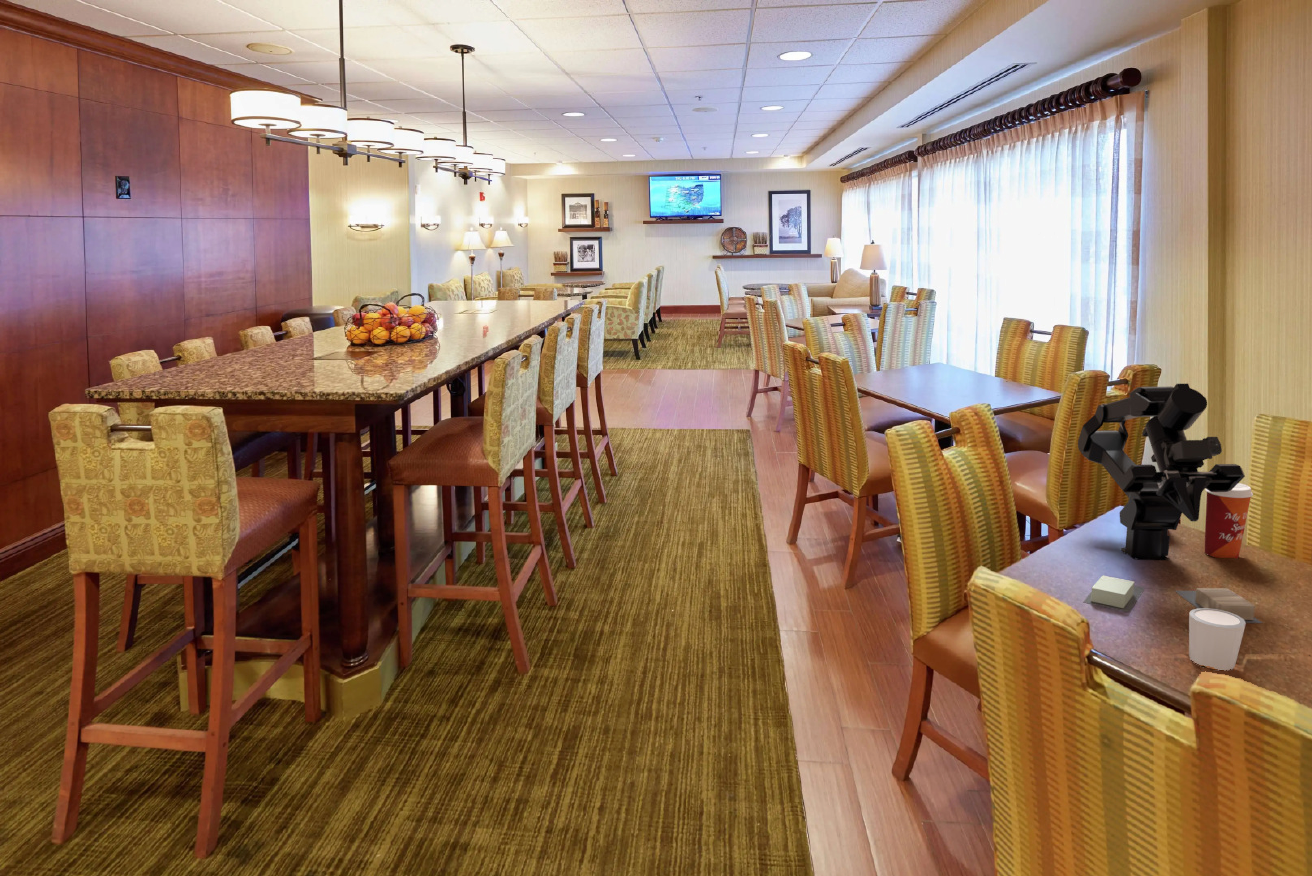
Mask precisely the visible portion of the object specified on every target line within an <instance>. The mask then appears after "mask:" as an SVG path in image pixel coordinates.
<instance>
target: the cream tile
mask: <svg viewBox="0 0 1312 876" xmlns="http://www.w3.org/2000/svg"><path fill="white" fill-rule="evenodd" d="M1195 591H1196V598H1195V602H1196V603H1198V604H1199V605H1201V606H1202V607H1203V608H1210V609H1218V610H1222V611H1227V612H1230V613H1233V614H1235V615H1238V616H1239V617H1241V618H1242V619H1244V620H1253V619H1254V617H1255V609H1256V608H1255V607H1256V605H1255V604H1253V603H1252V602H1250V601H1248V600H1246V598H1243V597H1242V596H1241V595H1240V594H1238V593H1236V592H1234V591H1233V590H1232V589H1229V588H1225V587H1223V588H1222V587H1221V588H1220V587H1219V588H1218V587H1217V588H1215V587H1214V588H1211V587H1205V588H1204V587H1203V588H1201V587H1200V588H1199V587H1197V588H1196V589H1195Z"/></svg>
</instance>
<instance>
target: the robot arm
mask: <svg viewBox="0 0 1312 876" xmlns="http://www.w3.org/2000/svg"><path fill="white" fill-rule="evenodd" d="M1207 407H1208V400H1207V398H1206V396H1204V395H1203V393H1201V392H1200V391H1198V390H1196V389H1194V388H1191V387H1190V384H1189V383H1185V382H1184V383H1176V384H1175V385H1174V386H1138V387H1136V388H1135V389H1133V390H1132V391H1130V392H1129V397H1125V398H1122V399H1119V400H1116V401H1111V402H1109V403H1102V404H1099V405H1097V407H1096V410H1095V414H1093V416H1091V418H1090V419H1088V420H1087V421H1086V422H1084V424H1083V425H1082V427H1081V430H1080V433H1079V436H1078V438H1077V439H1078V441H1077V446H1078V447H1077V448H1078V450H1079V452H1080V453H1081V455H1082V456H1083V457H1085V459H1086V460H1088V461H1090V462H1093V463H1096V464H1099V465H1101V466H1102V467H1103V468H1104V469H1105V470H1106V471H1107V473H1108V474H1109V475H1110V476H1111V478H1112V479H1113V480H1114V482H1115V483H1116V484H1117V485H1118V486H1119V488H1120V489H1121V490H1122V492H1123V493H1124V494H1125V495H1126V496H1127V497H1128V501H1127V503H1126V504H1125V505H1124V506H1123V507H1122V509H1121V510H1120V511H1119V523H1120V524H1121V525H1123V526H1124V527H1126V535H1125V545H1124V546H1125V547H1121V548H1120V552H1122V553H1123V554H1125V555H1128V556H1129V557H1130V558H1132V559H1133V560H1136V561H1169V560H1170V558H1168V556H1169V551H1170V541H1171V536H1170V535H1169V530H1172V531H1176V530H1177V529H1178V526H1179V523H1180V520H1181V517H1182V514H1183V515H1184V517H1186V518H1187V519H1188V520H1189V521H1190V522H1198V521H1199V518H1200V510H1201V509H1200V508H1201V499H1202V498H1201V497H1202V494H1203V491H1205V489H1207V490H1209V491H1211V492H1228V491H1231V490H1232V489H1233V488H1234V487H1235V486H1236V485H1237V484H1238V483H1240V482H1241V481H1242V480H1243V479H1244V478H1245V477H1246V475H1245V473H1244V470H1243V468H1242V467H1241V466H1240V464H1236V463H1227V464H1226V463H1218V464H1217V463H1215V464H1214V465H1213V467H1212V468H1211V469H1209V471H1198V469H1200V468H1201V469H1202V467H1203V466H1204V465H1205V463H1204V461H1206V460H1208V459H1209V460H1211V459H1213V457H1216V456H1219V455H1221V454H1222V451H1223V450H1222V444H1221V442H1220V440H1219V437H1218V436H1207V437H1206V438H1205V437H1204V438H1202V439H1187V436H1186V434H1185V433H1186V432H1184V431H1186V430H1188V429H1190V428H1191V427H1192V426H1193V425H1194V423H1195V422H1196V421H1197V420H1198V419H1199V417H1200V416H1201V415H1202V414H1203V413H1204V411H1205V410H1206V409H1207ZM1144 417H1145V418H1146V417H1147V418H1148V417H1149V418H1150V419H1149V420H1148V421H1147V422H1146V423H1145V425H1144V428H1143V430H1142V434H1141V435H1142V437H1143V438H1148V440H1149V443H1150V447H1151V449H1152V452H1153V454H1152V455H1151V456H1150V459H1151V462H1152V463H1156V464H1157V468H1158V471H1157V468H1156V466H1155V465H1153V464H1136V463H1135V462H1134V461H1133V460H1132V459H1131V458H1130V457H1129V456H1128V454H1127V453H1126V452H1125V446H1126V444H1127V440H1128V438H1129V433H1128V430H1127V427H1126V425H1125V423H1126V422H1127V421H1128V420H1131V419H1136V418H1144ZM1105 423H1108V424H1109V423H1116V424H1117V423H1118V424H1119V428H1118V430H1099V429H1100V428H1102V427H1103V425H1104V424H1105Z"/></svg>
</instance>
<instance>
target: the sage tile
mask: <svg viewBox="0 0 1312 876" xmlns="http://www.w3.org/2000/svg"><path fill="white" fill-rule="evenodd" d="M1134 585H1135V581H1134V580H1133V581H1132V580H1128V579H1122V578H1117V577H1114V576H1113V577H1112V576H1107V575H1102V576H1101V577H1100V578H1098V580H1097V581H1096V582H1095V583H1094V585H1093V586H1092V587H1091V591H1090V593H1091V601H1092V602H1097V603H1101V604H1106V605H1111V606H1115V607H1120V608H1124V607H1125V605H1126V604H1127V603H1128V601H1129V600H1130V599H1131V597H1132V596H1133V592H1134Z"/></svg>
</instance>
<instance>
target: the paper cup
mask: <svg viewBox="0 0 1312 876" xmlns="http://www.w3.org/2000/svg"><path fill="white" fill-rule="evenodd" d="M1204 491H1205V492H1206V502H1205V503H1206V506H1205V508H1206V509H1205V527H1204V529H1205V530H1204V554H1205V553H1206V554H1205V555H1207V554H1208V555H1207V556H1209V555H1210V556H1209V557H1211V556H1213V557H1212V558H1214V557H1216V558H1215V559H1239V556H1240V552H1241V548H1242V542H1243V538H1244V532H1245V528H1246V523H1247V518H1248V514H1249V513H1248V512H1249V508H1250V507H1249V506H1250V502H1251V498H1252V497H1253V496H1254V494H1253V492H1252V487H1250V486H1249V485H1248V484H1244V483H1240V482H1239V483H1238V484H1237V485H1236V486H1235V487H1234V488H1233V489H1232V490H1231V491H1228V492H1211V491H1209V490H1207V489H1206V488H1205V489H1204Z"/></svg>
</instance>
